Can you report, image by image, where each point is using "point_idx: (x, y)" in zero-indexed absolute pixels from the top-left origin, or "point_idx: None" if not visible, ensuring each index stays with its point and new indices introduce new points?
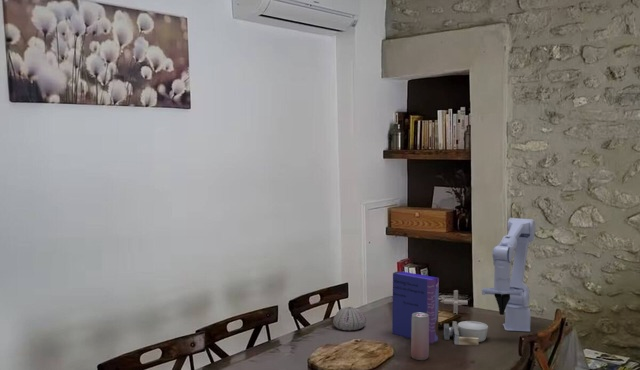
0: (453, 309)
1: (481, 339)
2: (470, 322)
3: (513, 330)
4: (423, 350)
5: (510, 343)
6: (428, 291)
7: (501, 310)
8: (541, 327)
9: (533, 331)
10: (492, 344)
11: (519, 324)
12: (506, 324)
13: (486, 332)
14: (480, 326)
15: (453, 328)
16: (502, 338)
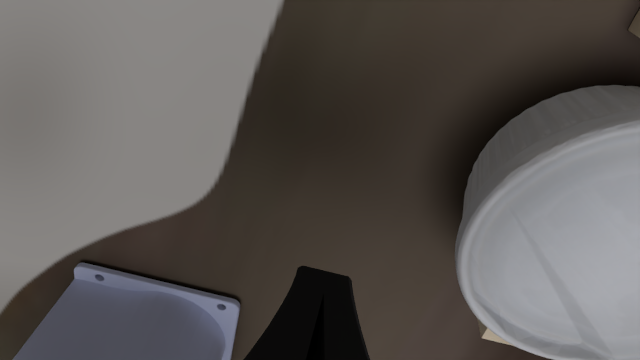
0: None
1: (565, 95)
2: (563, 347)
3: (188, 288)
4: None
5: (294, 35)
6: None
7: (333, 314)
8: (4, 318)
9: (58, 267)
10: (479, 19)
11: (129, 319)
12: (216, 349)
13: (506, 153)
14: (572, 216)
15: None
16: (318, 164)
